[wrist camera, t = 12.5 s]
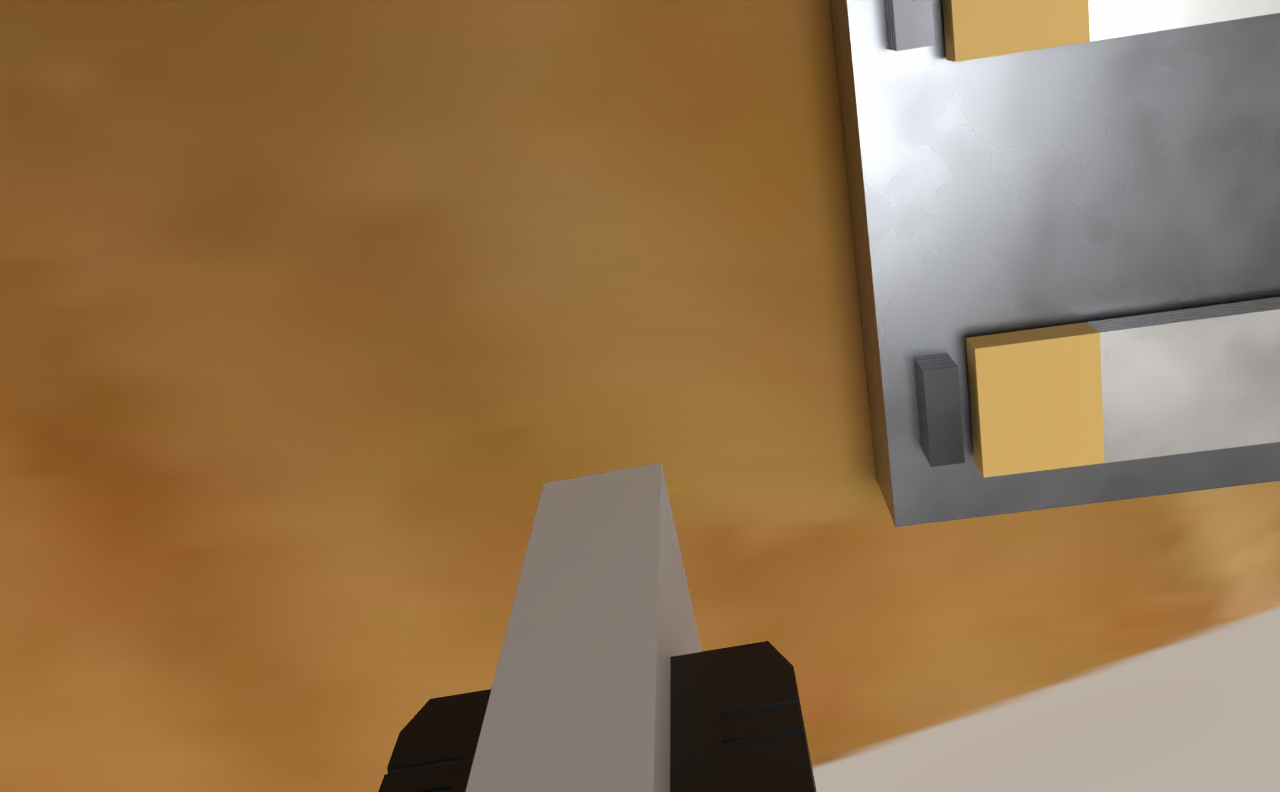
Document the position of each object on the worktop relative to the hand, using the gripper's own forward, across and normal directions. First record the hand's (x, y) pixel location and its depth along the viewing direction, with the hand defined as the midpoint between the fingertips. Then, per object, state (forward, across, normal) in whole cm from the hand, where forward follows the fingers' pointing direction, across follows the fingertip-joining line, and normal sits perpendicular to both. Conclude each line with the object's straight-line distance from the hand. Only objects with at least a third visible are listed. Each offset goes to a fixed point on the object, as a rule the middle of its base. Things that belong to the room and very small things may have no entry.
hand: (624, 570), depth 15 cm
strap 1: (+20, +17, -7) cm, 28 cm away
